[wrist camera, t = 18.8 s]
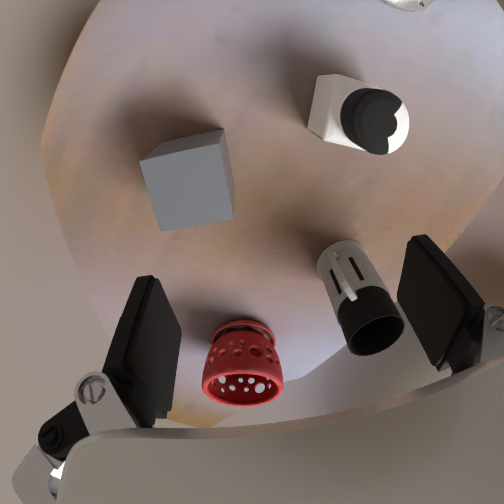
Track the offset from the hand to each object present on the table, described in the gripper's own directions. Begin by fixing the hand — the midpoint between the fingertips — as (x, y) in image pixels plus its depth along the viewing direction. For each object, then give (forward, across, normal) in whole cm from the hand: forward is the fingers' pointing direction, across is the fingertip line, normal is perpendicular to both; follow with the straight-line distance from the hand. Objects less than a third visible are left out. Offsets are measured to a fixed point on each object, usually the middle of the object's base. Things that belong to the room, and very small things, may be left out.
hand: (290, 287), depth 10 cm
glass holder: (+26, -10, +18) cm, 34 cm away
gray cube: (+26, +7, +2) cm, 27 cm away
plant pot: (+27, +7, +34) cm, 44 cm away
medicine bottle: (+27, -11, -3) cm, 29 cm away
